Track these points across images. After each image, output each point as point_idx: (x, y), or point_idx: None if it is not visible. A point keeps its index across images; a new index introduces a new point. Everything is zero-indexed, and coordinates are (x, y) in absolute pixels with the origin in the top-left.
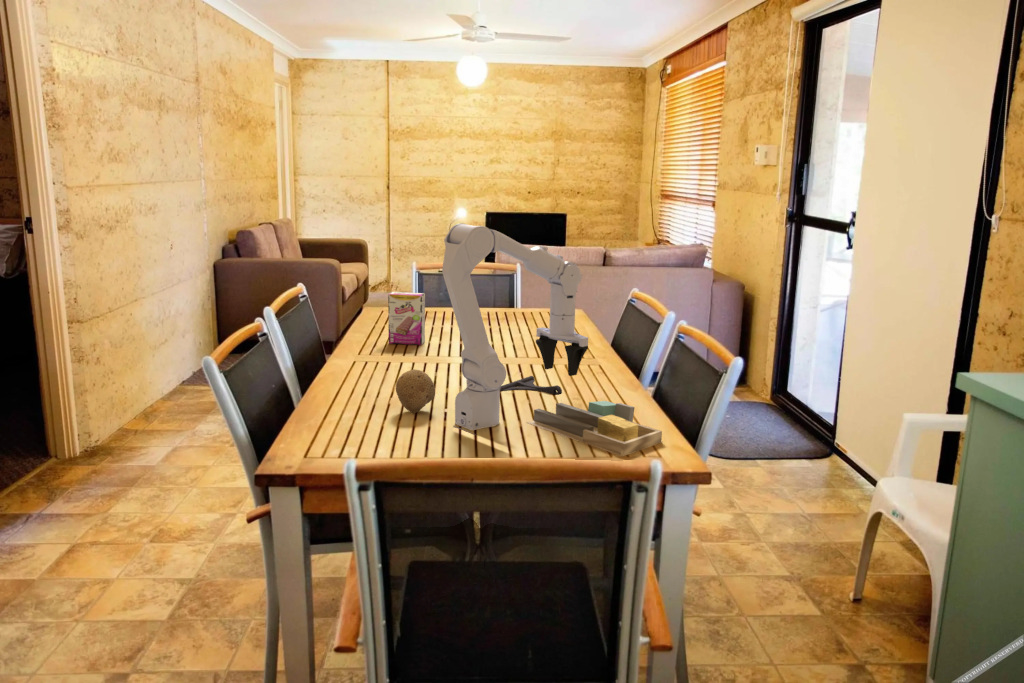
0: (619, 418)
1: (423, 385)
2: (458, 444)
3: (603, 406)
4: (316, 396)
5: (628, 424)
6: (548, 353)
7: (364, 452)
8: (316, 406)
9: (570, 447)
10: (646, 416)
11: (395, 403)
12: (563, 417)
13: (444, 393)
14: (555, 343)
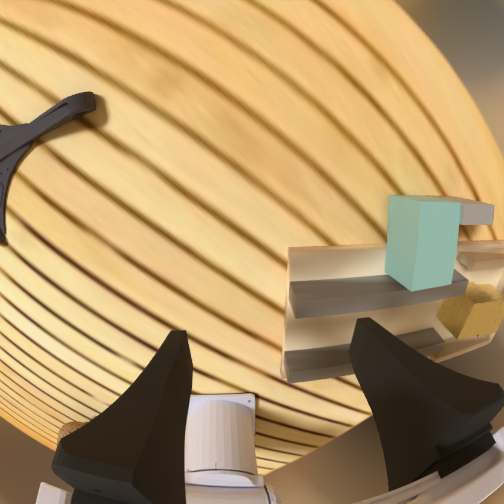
0: (487, 307)
1: None
2: (266, 449)
3: (450, 282)
4: (17, 426)
5: (500, 314)
6: (177, 428)
7: None
8: (52, 446)
9: None
10: (436, 82)
11: (50, 411)
12: None
13: (5, 340)
14: (150, 450)
